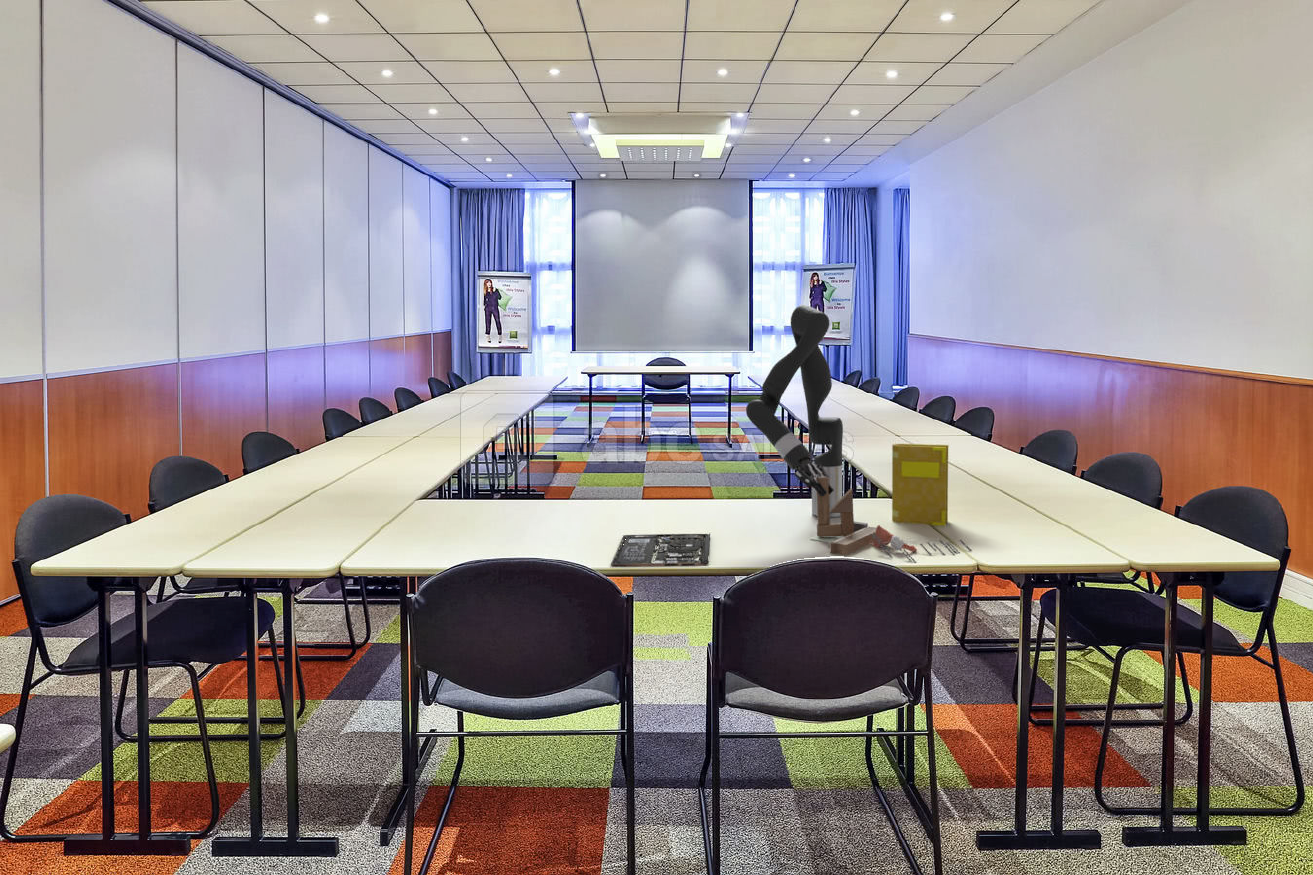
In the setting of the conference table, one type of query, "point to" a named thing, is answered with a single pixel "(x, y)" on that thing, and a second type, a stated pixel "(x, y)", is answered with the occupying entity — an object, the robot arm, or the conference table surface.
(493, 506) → the conference table surface
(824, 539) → the end pad
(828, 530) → the wooden block
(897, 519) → the book
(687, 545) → the laptop interior
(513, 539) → the conference table surface
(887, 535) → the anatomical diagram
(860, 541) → the walnut rail
